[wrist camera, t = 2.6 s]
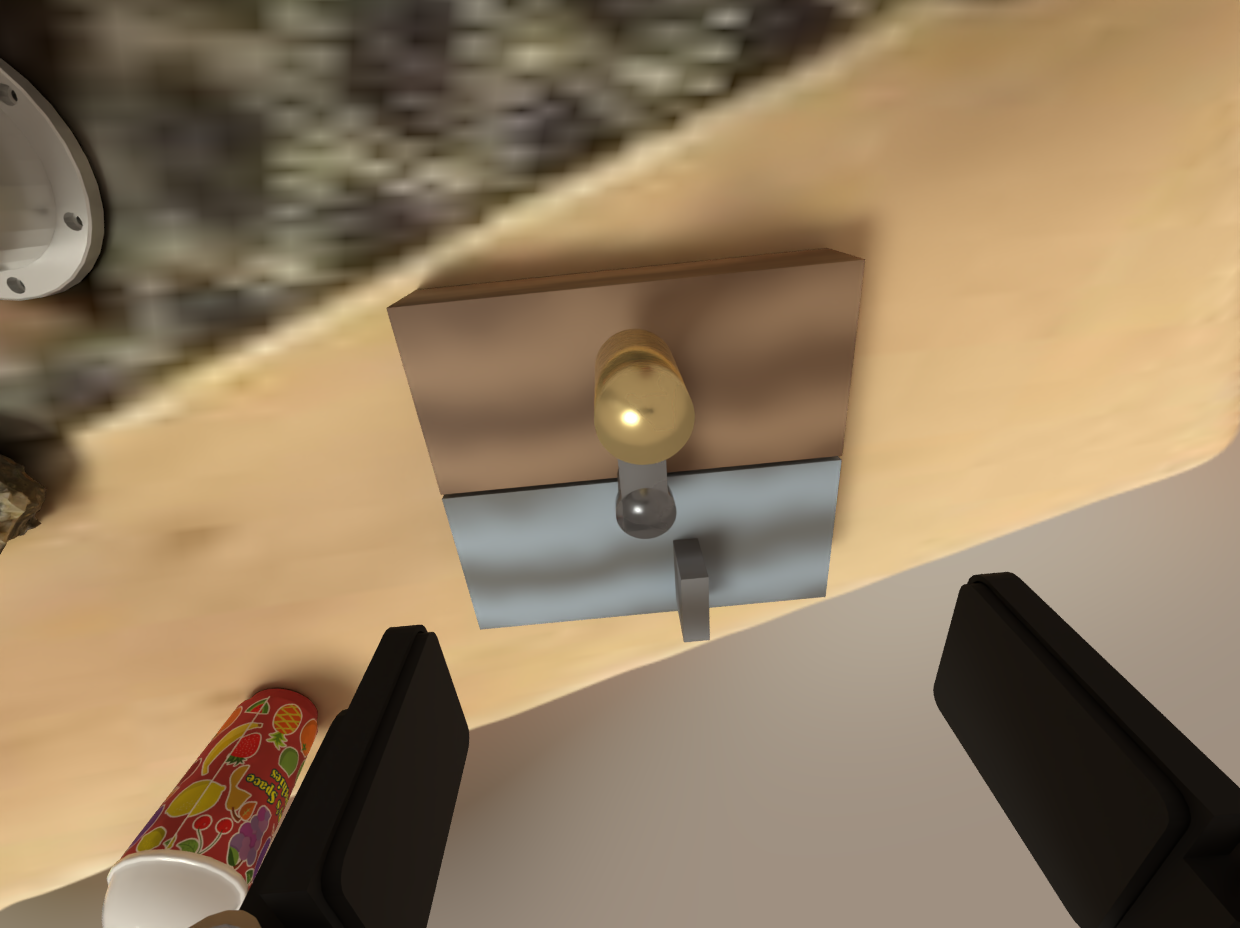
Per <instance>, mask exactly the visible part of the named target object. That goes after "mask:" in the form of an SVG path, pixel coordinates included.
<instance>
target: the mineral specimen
mask: <svg viewBox="0 0 1240 928" xmlns="http://www.w3.org/2000/svg"><path fill="white" fill-rule="evenodd" d="M45 493H46V488H45V487H44V486H42V485H41V484H39V483H38V482H36V481H35V480H34V479H32V478H31V477H30V476H29V475H27V474H26V473H25V471H24V466H23V465H20V464H17V463H15V462H14V461H13V459H11V458H8V457H6V456H3V455H1V454H0V554H1V552H2V551H3V549H4V547H5V546H6V544H7V542H8V541H9V540H11V539H14V538H16V537H17V536H20V535H24V534H25V533H26V532H27V530H29V529H33V528H35V527H37V526H38V525H40V524H41V523H40V522H39V521H38V520H37V519H36V518H35V514H36V512H38V511H40V510H39V509H41V508H42V504H43V502H44V501H45Z"/></svg>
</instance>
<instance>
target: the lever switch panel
mask: <svg viewBox="0 0 1240 928" xmlns="http://www.w3.org/2000/svg"><path fill="white" fill-rule="evenodd" d="M864 265H865V259H861V258H858V257H855V256H852V255H848V254H845V253H842V252H838V251H835V250H832V249H828V248H823V249H813V250H804V251H794V252H784V253H774V254H764V255H754V256H745V257H735V258H725V259H715V260H705V261H695V262H686V263H676V264H666V265H656V266H646V267H636V268H627V269H617V270H607V271H597V272H587V273H577V274H567V275H558V276H548V277H538V278H528V279H518V280H508V281H499V282H489V283H479V284H469V285H459V286H449V287H440V288H430V289H420V290H415V291H414V292H412V293H410V294H409V295H407V296H405V297H404V298H402V299H401V300H399V301H397V302H396V303H394V304H392V305H391V306H389V307H387V312H388V315H389V319H390V322H391V326H392V329H393V332H394V336H395V339H396V343H397V346H398V350H399V353H400V356H401V360H402V363H403V367H404V370H405V374H406V377H407V380H408V384H409V387H410V391H411V394H412V398H413V401H414V404H415V408H416V411H417V415H418V418H419V422H420V425H421V428H422V432H423V435H424V439H425V442H426V446H427V449H428V452H429V456H430V459H431V463H432V466H433V470H434V473H435V476H436V480H437V483H438V487H439V490H440V493H441V495H444V496H443V498H442V500H443V504H444V507H445V511H446V514H447V517H448V521H449V524H450V528H451V531H452V535H453V538H454V541H455V545H456V548H457V552H458V555H459V559H460V562H461V565H462V569H463V572H464V576H465V579H466V583H467V586H468V589H469V593H470V596H471V600H472V603H473V607H474V610H475V613H476V617H477V620H478V624H479V627H480V629H490V628H501V627H511V626H522V625H532V624H543V623H553V622H564V621H575V620H585V619H596V618H606V617H617V616H627V615H638V614H648V613H659V612H669V611H678V613H679V618H680V624H681V629H682V634H683V640H684V642H692V641H703V640H710V629H709V608H712V607H722V606H733V605H743V604H754V603H764V602H775V601H785V600H796V599H807V598H817V597H825V596H826V588H827V579H828V571H829V562H830V554H831V545H832V537H833V528H834V520H835V511H836V503H837V494H838V486H839V477H840V469H841V459H840V458H839V457H838V456H842V452H843V443H844V435H845V426H846V418H847V410H848V401H849V393H850V384H851V376H852V367H853V359H854V350H855V342H856V333H857V325H858V316H859V308H860V299H861V291H862V282H863V274H864ZM627 329H644V330H648V331H650V332H653V333H654V334H656V335H658V336H659V337H660V338H661V339H663V340H664V341H665V343H666V344H667V345H668V347H669V349H670V351H671V353H672V356H673V358H674V360H675V363H676V365H677V367H678V370H679V372H680V374H681V377H682V379H683V382H684V384H685V386H686V389H687V391H688V393H689V396H690V398H691V401H692V403H693V407H694V413H695V421H694V427H693V430H692V433H691V435H690V437H689V439H688V441H687V442H686V444H685V445H684V446H683V447H682V448H681V449H680V450H679V451H678V452H677V453H676V454H674V455H673V456H672V457H670V458H668V459H666V468H667V485H668V486H669V488H670V489H671V491H672V493H673V497H674V501H675V505H676V511H677V514H676V519H675V522H674V524H673V525H672V527H671V528H670V529H669V530H668V531H667V532H665V533H664V534H662V535H660V536H658V537H655V538H651V539H639V538H635V537H632V536H630V535H628V534H626V533H625V532H624V531H623V530H622V529H621V528H620V527H619V525H618V523H617V519H616V507H615V500H616V495H617V493H618V491H619V490H620V488H621V487H620V477H619V468H618V458H616V457H614V456H613V455H612V454H610V453H609V452H608V451H607V450H606V449H605V448H604V447H603V445H602V444H601V442H600V441H599V439H598V437H597V434H596V431H595V425H594V397H595V361H596V357H597V354H598V352H599V350H600V348H601V347H602V345H603V344H604V343H605V342H606V341H607V339H609V338H610V337H611V336H613V335H614V334H616V333H618V332H620V331H623V330H627Z"/></svg>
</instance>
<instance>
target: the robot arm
mask: <svg viewBox="0 0 1240 928" xmlns="http://www.w3.org/2000/svg"><path fill="white" fill-rule="evenodd" d="M103 236H104V211H103V206H102V201H101V197H100V192H99V188H98V184H97V182H96V179H95V177H94V174H93V172H92V169H91V167H90V164H89V162H88V159H87V157H86V156H85V154H84V152H83V150H82V149H81V147H80V145H79V143H78V142H77V140H76V138H75V137H74V135H73V133H72V131H71V130H70V129H69V127H68V126H67V125H66V123H65V122H64V121H63V120H62V118H61V117H60V116H59V114H58V113H57V112H56V110H55V109H54V108H53V106H52V105H51V104H50V103H49V102H48V101H47V100H46V99H45V98H44V97H43V96H42V95H41V94H40V93H39V91H38V90H37V89H36V88H35V87H34V86H33V85H32V84H31V83H30V82H29V81H28V80H27V79H26V78H24V77H23V76H22V75H21V74H20V73H18V72H17V71H16V70H15V69H13V68H12V67H11V66H10V65H9V64H7V63H6V62H5V61H4V60H2V59H1V58H0V300H28V299H34V298H40V297H45V296H49V295H53V294H56V293H60V292H64V291H65V290H67V289H69V288H71V287H72V286H74V285H76V284H77V283H79V282H80V281H81V280H82V279H83V278H84V277H85V276H86V275H87V274H88V273H89V272H90V271H91V270H92V268H93V266H94V264H95V262H96V260H97V258H98V256H99V254H100V251H101V246H102V241H103ZM933 691H934V698H935V701H936V704H937V706H938V708H939V710H940V711H941V713H942V715H943V716H944V718H945V719H946V721H947V722H948V724H949V726H950V727H951V729H952V730H953V732H954V733H955V735H956V737H957V738H958V739H959V741H960V743H961V744H962V746H963V748H964V749H965V751H966V752H967V754H968V755H969V757H970V758H971V760H972V762H973V763H974V765H975V766H976V768H977V770H978V771H979V773H980V774H981V776H982V777H983V779H984V781H985V782H986V784H987V785H988V786H989V788H990V790H991V792H992V793H993V794H994V796H995V798H996V799H997V801H998V803H999V804H1000V806H1001V807H1002V809H1003V810H1004V812H1005V813H1006V815H1007V817H1008V818H1009V820H1010V821H1011V823H1012V825H1013V826H1014V827H1015V829H1016V831H1017V832H1018V834H1019V835H1020V837H1021V839H1022V840H1023V842H1024V843H1025V845H1026V846H1027V848H1028V850H1029V851H1030V853H1031V854H1032V856H1033V857H1034V859H1035V861H1036V862H1037V864H1038V865H1039V867H1040V868H1041V870H1042V871H1043V873H1044V875H1045V876H1046V878H1047V879H1048V881H1049V883H1050V884H1051V886H1052V887H1053V889H1054V890H1055V892H1056V894H1057V895H1058V896H1059V898H1060V900H1061V901H1062V903H1063V905H1064V906H1065V908H1066V909H1067V911H1068V912H1069V914H1070V915H1071V917H1072V918H1073V920H1074V921H1075V922H1076V923H1077V924H1078V925H1079V926H1080V927H1081V928H1240V788H1239V787H1238V786H1237V785H1236V784H1235V783H1234V782H1233V781H1232V780H1231V779H1230V778H1229V777H1228V776H1227V775H1226V774H1225V773H1224V772H1222V771H1221V770H1220V769H1219V768H1218V767H1217V766H1216V765H1215V764H1214V763H1213V762H1212V761H1211V760H1210V759H1209V758H1208V757H1207V756H1206V755H1205V754H1203V752H1201V751H1200V750H1199V749H1198V748H1197V747H1196V746H1195V745H1194V744H1193V743H1192V742H1191V741H1190V740H1189V739H1188V738H1187V737H1186V736H1185V735H1184V734H1183V733H1181V731H1179V730H1178V729H1177V728H1176V727H1175V726H1174V725H1173V724H1172V723H1171V722H1170V721H1169V720H1168V719H1167V718H1166V717H1165V716H1164V715H1163V714H1161V712H1160V711H1158V710H1157V709H1156V708H1155V707H1154V706H1153V705H1152V704H1151V703H1150V702H1149V701H1148V700H1147V699H1146V698H1145V697H1144V696H1143V695H1142V694H1141V693H1140V692H1138V690H1136V689H1135V688H1134V687H1133V686H1132V685H1131V684H1130V683H1129V682H1128V681H1127V680H1126V679H1125V678H1124V677H1123V676H1122V675H1121V674H1120V673H1119V672H1118V671H1117V670H1116V669H1114V668H1113V667H1112V666H1111V665H1110V664H1109V663H1108V662H1107V661H1106V660H1105V659H1104V658H1103V657H1102V656H1101V655H1100V654H1099V653H1098V652H1097V651H1096V650H1094V649H1093V648H1092V647H1091V646H1090V645H1089V644H1088V643H1087V642H1086V641H1085V640H1084V639H1083V638H1082V637H1081V636H1080V635H1079V634H1078V633H1077V632H1075V630H1073V628H1071V627H1070V626H1069V625H1068V624H1067V623H1066V622H1065V621H1064V620H1063V619H1062V618H1061V617H1060V616H1059V615H1058V614H1057V613H1056V612H1055V611H1054V610H1053V609H1052V608H1050V607H1049V606H1048V605H1047V604H1046V603H1045V602H1044V601H1043V600H1042V599H1041V598H1040V597H1039V596H1038V595H1037V594H1036V593H1035V592H1034V591H1033V590H1031V588H1029V587H1028V586H1027V585H1026V584H1025V583H1024V582H1023V581H1022V580H1021V579H1020V578H1019V577H1018V576H1016V575H1015V574H1013V573H1010V572H1002V573H990V574H980V575H973V576H972V577H971V578H970V579H969V581H968V583H967V584H964V585H963V586H961V589H960V591H959V594H958V598H957V602H956V606H955V609H954V613H953V617H952V620H951V624H950V628H949V632H948V635H947V639H946V643H945V646H944V650H943V654H942V657H941V661H940V665H939V669H938V672H937V676H936V680H935V683H934V689H933ZM468 747H469V729H468V725H467V723H466V720H465V717H464V714H463V711H462V708H461V705H460V702H459V699H458V696H457V693H456V691H455V688H454V685H453V682H452V679H451V676H450V673H449V670H448V667H447V664H446V661H445V659H444V656H443V653H442V650H441V647H440V644H439V641H438V638H437V636H436V634H435V633H434V632H427V630H426V628H425V627H424V626H423V625H412V626H400V627H390V628H388V629H387V630H386V632H385V633H384V635H383V637H382V639H381V641H380V643H379V645H378V647H377V649H376V651H375V653H374V656H373V658H372V660H371V662H370V664H369V666H368V668H367V670H366V672H365V674H364V676H363V679H362V681H361V683H360V685H359V687H358V689H357V691H356V693H355V695H354V697H353V699H352V701H351V704H350V706H349V708H348V709H345V710H343V711H341V712H340V713H339V714H338V715H337V716H336V718H335V719H334V721H333V722H332V724H331V726H330V728H329V730H328V732H327V734H326V736H325V738H324V740H323V742H322V744H321V746H320V748H319V750H318V752H317V754H316V756H315V758H314V760H313V762H312V764H311V766H310V768H309V770H308V772H307V774H306V776H305V778H304V780H303V782H302V784H301V786H300V788H299V790H298V792H297V794H296V796H295V798H294V800H293V802H292V804H291V806H290V808H289V810H288V812H287V814H286V816H285V818H284V820H283V822H282V824H281V826H280V828H279V830H278V833H277V834H276V837H275V838H274V841H273V842H272V844H271V847H270V849H269V851H268V853H267V855H266V856H265V858H264V861H263V863H262V865H261V867H260V869H259V871H258V873H257V875H256V877H255V879H254V881H253V883H252V885H251V887H250V889H249V891H248V893H247V895H246V897H245V899H244V901H243V903H242V905H241V907H240V909H239V910H226V911H223V912H219V913H216V914H213V915H210V916H207V917H206V918H204V919H202V920H200V921H199V922H197V923H195V924H194V925H192V926H190V927H189V928H426V927H427V923H428V918H429V914H430V910H431V905H432V901H433V897H434V893H435V889H436V884H437V880H438V876H439V871H440V867H441V863H442V859H443V855H444V850H445V846H446V842H447V837H448V833H449V829H450V824H451V820H452V816H453V812H454V807H455V803H456V799H457V795H458V790H459V786H460V782H461V777H462V773H463V769H464V765H465V761H466V756H467V752H468Z"/></svg>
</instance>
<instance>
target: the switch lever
mask: <svg viewBox="0 0 1240 928" xmlns="http://www.w3.org/2000/svg"><path fill="white" fill-rule="evenodd" d="M694 421H695V413H694V407H693V403H692V401H691V398H690V396H689V393H688V391H687V389H686V386H685V384H684V382H683V379H682V377H681V374H680V372H679V370H678V367H677V365H676V363H675V360H674V358H673V356H672V353H671V351H670V349H669V347H668V345H667V344H666V343H665V341H664V340H663V339H661V338H660V337H659V336H658V335H656V334H654V333H653V332H650V331H648V330H644V329H627V330H623V331H620V332H618V333H616V334H614V335H613V336H611V337H610V338H609V339H607V341H606V342H605V343H604V344H603V345H602V347H601V348H600V350H599V352H598V354H597V357H596V361H595V397H594V425H595V431H596V434H597V437H598V439H599V441H600V442H601V444H602V445H603V447H604V448H605V449H606V450H607V451H608V452H609V453H610V454H612V455H613V456H614V457H616V458H618V468H619V477H620V487H621V488H620V490H619V491H618V493H617V495H616V500H615V507H616V519H617V523H618V525H619V527H620V528H621V529H622V530H623V531H624V532H625V533H626V534H628V535H630V536H632V537H635V538H639V539H651V538H655V537H658V536H660V535H662V534H664V533H665V532H667V531H668V530H669V529H670V528H671V527H672V525H673V524H674V522H675V519H676V514H677V511H676V505H675V501H674V497H673V493H672V491H671V489H670V488H669V486H668V485H667V468H666V459H668V458H670V457H672V456H673V455H674V454H676V453H677V452H678V451H679V450H680V449H681V448H682V447H683V446H684V445H685V444H686V442H687V441H688V439H689V437H690V435H691V433H692V430H693V427H694Z"/></svg>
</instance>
